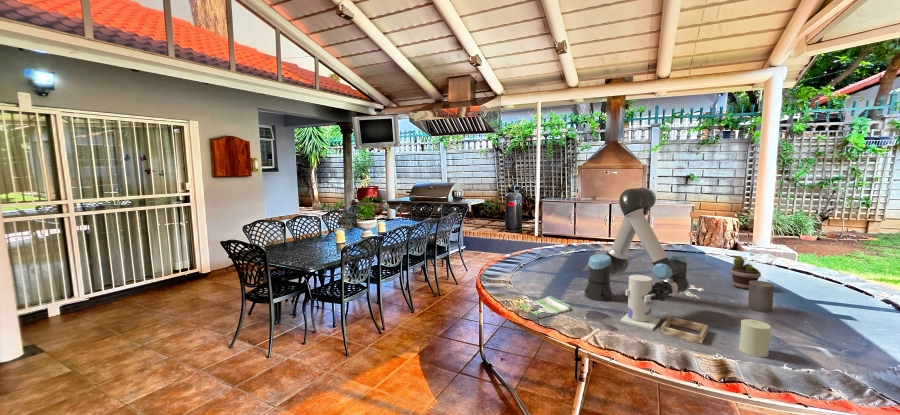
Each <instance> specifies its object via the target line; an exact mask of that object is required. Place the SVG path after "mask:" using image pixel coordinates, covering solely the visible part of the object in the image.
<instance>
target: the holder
mask: <svg viewBox="0 0 900 415" xmlns="http://www.w3.org/2000/svg"><path fill="white" fill-rule="evenodd" d="M671 325H674V326H678V327H682V328H686V329H690V330H695V331H698V332H700V333H699V335H698V334H694V333H692V332H691V333H690V332H687V331H682V330H678V329H675V328H672V327H670V326H671ZM659 330H660V332H659V333H660V334H663V335H666V336H670V337H672V336H673V337H672V338H676V337H678V338H677V339H680V338H682V339H681V340H684V339H686V340H685V341H687V340H689V342H691V341H693V342H692V343H695V342H697V343H696V344H699V343H701V344H700V345H703V343H702V342H704V341H703V340H705V339H704V338H706V337H707V335H708V333H709V332H708V331H709V325H706V324H704V323H703V324H702V323H699V322H694V321H690V320H686V319H682V318H678V317H673V316H667V318H666V320H665V321H664V322H663V323H662V324H661V325H660V329H659Z"/></svg>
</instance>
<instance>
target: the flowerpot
mask: <svg viewBox="0 0 900 415" xmlns="http://www.w3.org/2000/svg"><path fill="white" fill-rule="evenodd" d="M732 263H733V266H732V267H731V268H730V270H729V272H730V274H731V276H732V280H731V283H732V285H733V287H735V288H737V289H740V290H747V291H749V282H750V281H759V278H761V276H762V274H761V272H760V270H758V269H757V268H755V267H754V265H752V264H751V263H750V262H747V263H746V260H745V258H744V257H743V256H740V255H738V256H736V257H734V259H733V261H732Z"/></svg>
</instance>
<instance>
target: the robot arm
mask: <svg viewBox="0 0 900 415" xmlns="http://www.w3.org/2000/svg"><path fill="white" fill-rule="evenodd" d="M656 202H657V197H656V194H655V192H654V191H653V190H652V189H651V188H647V187H637V188H636V187H635V188H634V187H633V188H627V189H626V190H623V191H622V193H621V194H620V196H619V198H618V203H619V208H620V210H621V212H622V215H623V218H622V220H621V222H620V223H621V224H620V226H619V228H618V231H617V233H616V235H615V238H614V241H613V244H612V246H611V247H610V248H608V249H607V251H606V253H605V254H602V253H601V254H600V253H599V254H594V255H590V257H589V259H588V264H587V265H588V270H587V271H588V272H587V274H588V275H587V276H588V279H587V280H588V281H587V284H586V287H585V288H584V296H585V297H586V298H587V299H590V300H593V301H601V302H606V301H608V302H609V301H611V300H613V299H614V292H613V290H612V286H611V277H613V276H616V275H620V274H622V273H625V272H626V271H627V270H628V267H629V261H628V260H629V255H628V252H629V250H630V247H631V245H632V242H633V240H634V237H635V235H636V236H637V237H638V239H639V241H640V243H641V245H642V247H643V248H644V250H645V252H646V254H647V257H649V260H650V261H651V263H652V265H653V268H652V274H653V275H654V277H656V278H657V279H658V280H659V279H660V281H657V282H655V283H654V284H652V294H651V295H647V296H645V298H644V302H649V301H652V302H653V301H660V302H664V301H665V300H667V299H668V298H671V297H672V295H677V294H680V293H685V292H686V291H688V290H689V289H690V287H691V283H690V280H689V279H688V278H687V270H688V268H687V267H688V257H687V256H686V255H685V254H680V253H673V254H670V255H669V257H668V255H667V253H666V251H665V250H664V248H663V246H662V244H661V242H660V240H659V239H658V237H657V234H656V233H655V232H654V230H653V228H652V226H651V225H650V223H649V221H648V219H647V217H646V216H647V214H648V213H649V210H650V209H651V208H653V207H654V206H655V204H656ZM624 294H625V296H628V295H629V288H628V289H625V293H624Z"/></svg>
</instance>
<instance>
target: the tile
mask: <svg viewBox="0 0 900 415" xmlns="http://www.w3.org/2000/svg"><path fill="white" fill-rule="evenodd" d="M661 321H662V320H661V318H658V317H654V316H651V320H650V321H636V320H633V319H631V318H629V317H628V312H627V313H626V314H625V315H624V316H623V317H621V319H620V320H619V322H620V323H623V324H626V325H629V326H630V325H631V326H634V327H638V328H641V329H645V330H649V331H653V330H655V328H656V327H657V326H658V325H659V324H660V322H661Z"/></svg>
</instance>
